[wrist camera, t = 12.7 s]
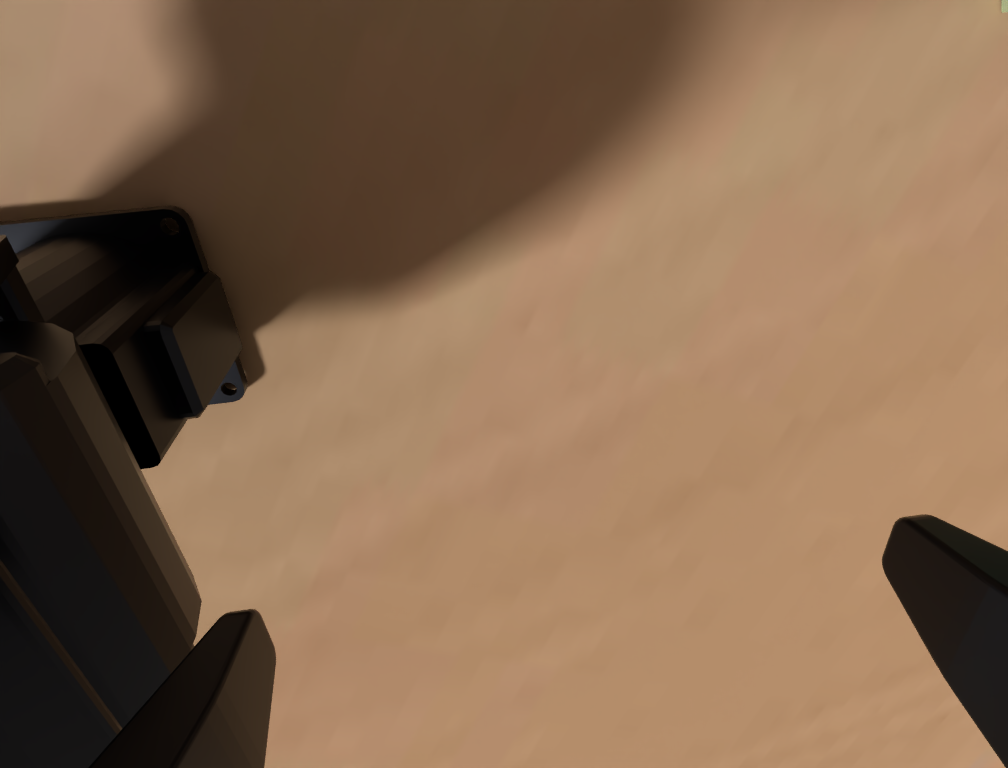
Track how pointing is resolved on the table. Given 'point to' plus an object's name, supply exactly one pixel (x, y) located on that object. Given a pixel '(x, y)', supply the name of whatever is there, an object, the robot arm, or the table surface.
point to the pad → (1004, 5)
